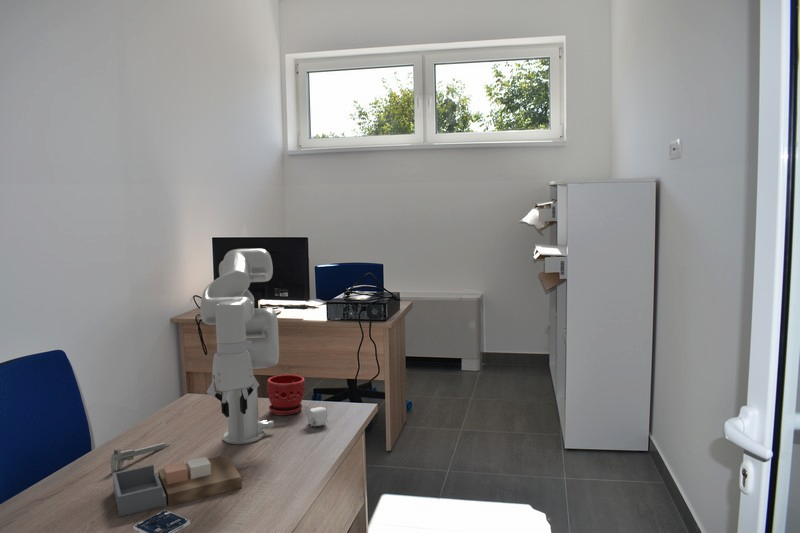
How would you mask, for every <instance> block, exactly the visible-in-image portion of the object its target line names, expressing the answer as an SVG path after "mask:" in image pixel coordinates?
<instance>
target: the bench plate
mask: <svg viewBox="0 0 800 533" xmlns="http://www.w3.org/2000/svg"><path fill="white" fill-rule="evenodd" d="M207 459H208V460H209V462H210V464H211V475H207V476H202V477H198V478H194V479H191V478H190V476H189V474H188V480H185V481H181V482H177V483H172V484H168V485H167V483H166V480H165V478H164V468H160V469H158V470H157V472H158V473H157V474H158V477H159V479H160V482H161V484H162V487H163V489H164V492H165V494H166V502H167V506H173V505H178V504H181V503H185V502H189V501H193V500H197V499H201V498H206V497H210V496H214V495H217V494H221V493H226V492H229V491H234V490H237V489H238V490H239V489H241V488H243V486H242V484H243V483H242V476H241V473H239V471H238V470H237V468H236V467H235V465H234V464H233V463H232V461H231V460H230V458H229V457H228V456H227V455H226V454H224V455H219V456H215V457H210V458H207ZM185 465H186V467H187V463H185Z"/></svg>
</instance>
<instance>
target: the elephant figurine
mask: <svg viewBox="0 0 800 533" xmlns="http://www.w3.org/2000/svg"><path fill="white" fill-rule="evenodd" d="M303 412H304V414H305V417H306V418H307V423H308V425H309V424H311V425H310V426H311V427H312V426H314V427H316V426H317V427H319V426H325V425H326V424H327V423H329V419H328V415H329V414H328V403H327V402H324V406H323V407H322V406H317V407H311V408H310V407H308V405H306V406H305V407H304V409H303ZM326 421H327V422H326Z"/></svg>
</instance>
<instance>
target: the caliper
mask: <svg viewBox="0 0 800 533" xmlns="http://www.w3.org/2000/svg"><path fill="white" fill-rule="evenodd" d="M168 446H170V444H169V443H167V442H161V443H158V444H153V445H149V446H145V447H142V448H138V449H132V448H131V449H126V450H123V451H121V448H117V449H114V450H113V453H112V454H111V458H110V469H111V470H110V472H112V473H115V472H120V471H122V468H123V465H124V462H125V461H131V460H134V457H137V456H140V455H144V454H148V453H152V452H156V451H160V450H163V449H165V448H167V447H168Z"/></svg>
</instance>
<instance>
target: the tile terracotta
mask: <svg viewBox="0 0 800 533" xmlns="http://www.w3.org/2000/svg"><path fill="white" fill-rule="evenodd" d="M185 464H186V463H185V462H184V461H180V462H176V463H171V464H167V465H163V469H164V478H165V480H166V483H167V485H168V484H172V483H177V482H181V481H185V480H188V471H187V467H186V465H185Z"/></svg>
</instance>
